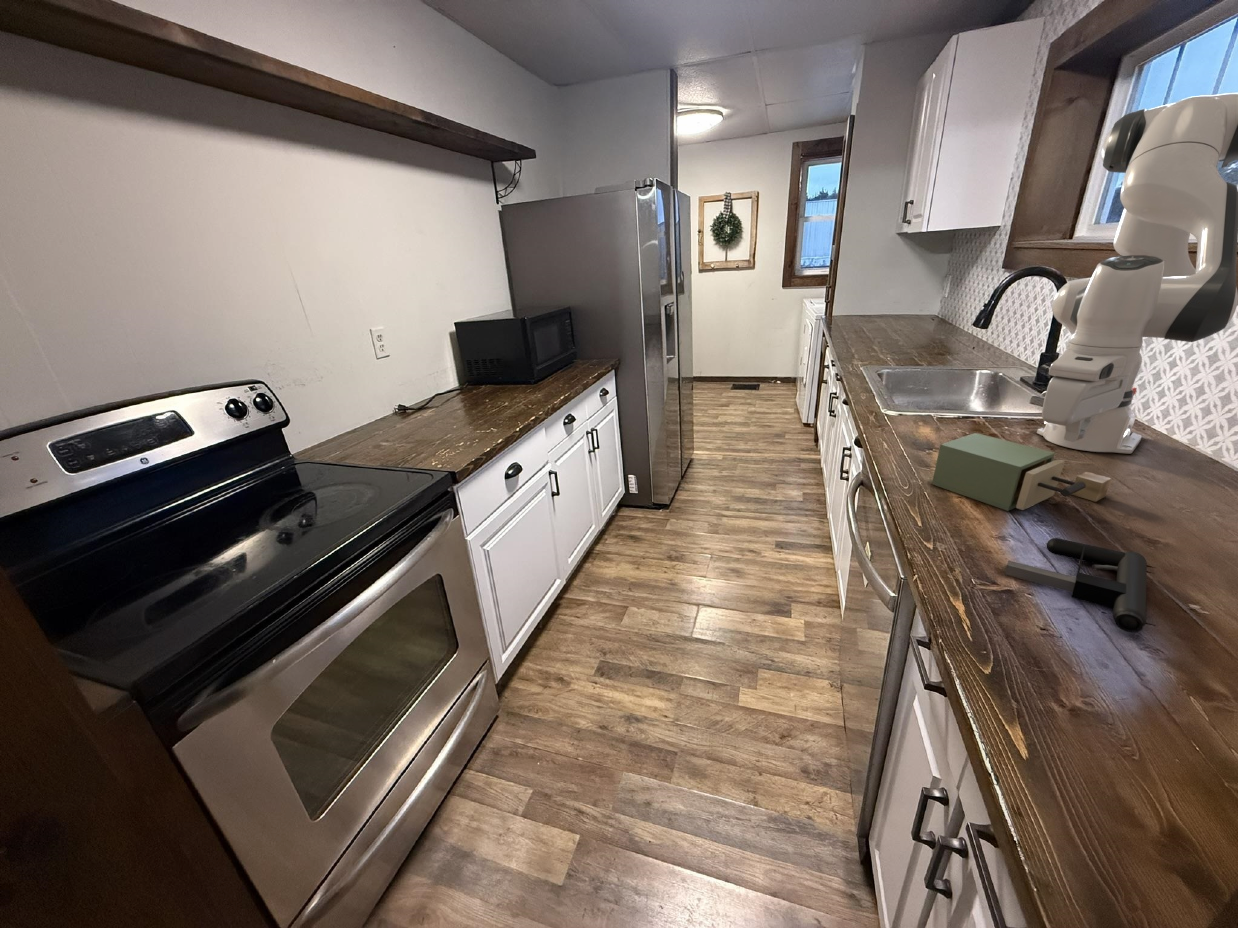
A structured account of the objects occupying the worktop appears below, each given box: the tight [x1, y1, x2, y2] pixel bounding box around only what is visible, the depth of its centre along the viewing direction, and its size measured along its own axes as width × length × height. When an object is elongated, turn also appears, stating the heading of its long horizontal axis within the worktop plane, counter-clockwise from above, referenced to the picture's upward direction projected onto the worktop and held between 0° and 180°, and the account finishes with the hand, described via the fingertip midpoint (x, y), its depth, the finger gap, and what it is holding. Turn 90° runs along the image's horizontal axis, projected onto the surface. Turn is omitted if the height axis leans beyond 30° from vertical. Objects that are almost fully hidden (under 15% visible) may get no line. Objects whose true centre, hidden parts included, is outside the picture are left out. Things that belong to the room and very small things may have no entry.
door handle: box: [1004, 537, 1156, 633], centre depth 73 cm, size 3×20×16 cm
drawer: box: [1012, 458, 1086, 511], centre depth 97 cm, size 18×11×7 cm, turn 28°
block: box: [1071, 471, 1113, 503], centre depth 98 cm, size 4×4×4 cm
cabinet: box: [931, 432, 1056, 512], centre depth 101 cm, size 15×13×9 cm
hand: (1073, 439), depth 88 cm, fingers closed
